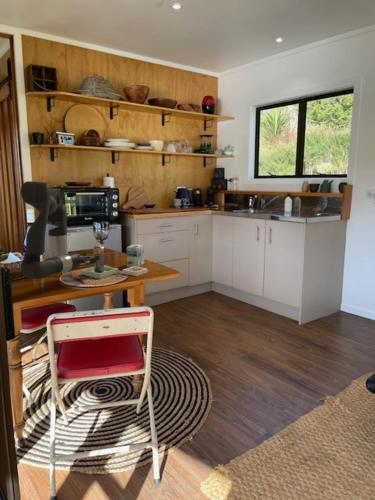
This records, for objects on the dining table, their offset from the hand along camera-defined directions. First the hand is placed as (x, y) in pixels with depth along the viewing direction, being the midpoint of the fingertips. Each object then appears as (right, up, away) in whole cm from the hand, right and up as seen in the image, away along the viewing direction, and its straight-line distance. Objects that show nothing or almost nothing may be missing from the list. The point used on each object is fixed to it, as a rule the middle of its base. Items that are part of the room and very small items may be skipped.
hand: (92, 256), depth 181 cm
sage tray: (+2, -9, +6) cm, 11 cm away
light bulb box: (+17, -5, +27) cm, 32 cm away
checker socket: (+19, -8, +9) cm, 23 cm away
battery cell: (+2, -8, +5) cm, 10 cm away
